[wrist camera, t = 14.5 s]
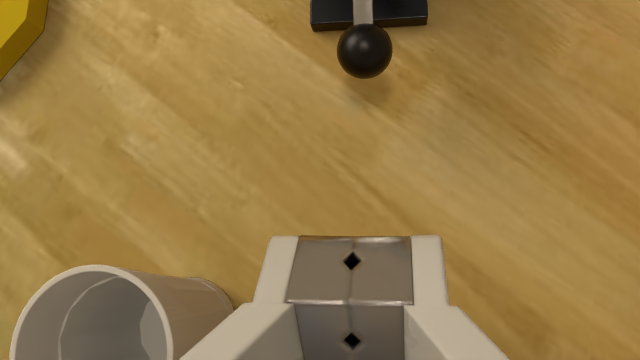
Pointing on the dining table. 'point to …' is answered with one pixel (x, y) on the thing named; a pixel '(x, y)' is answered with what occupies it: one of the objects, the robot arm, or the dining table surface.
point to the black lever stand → (388, 11)
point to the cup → (117, 316)
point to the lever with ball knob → (364, 44)
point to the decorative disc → (19, 29)
